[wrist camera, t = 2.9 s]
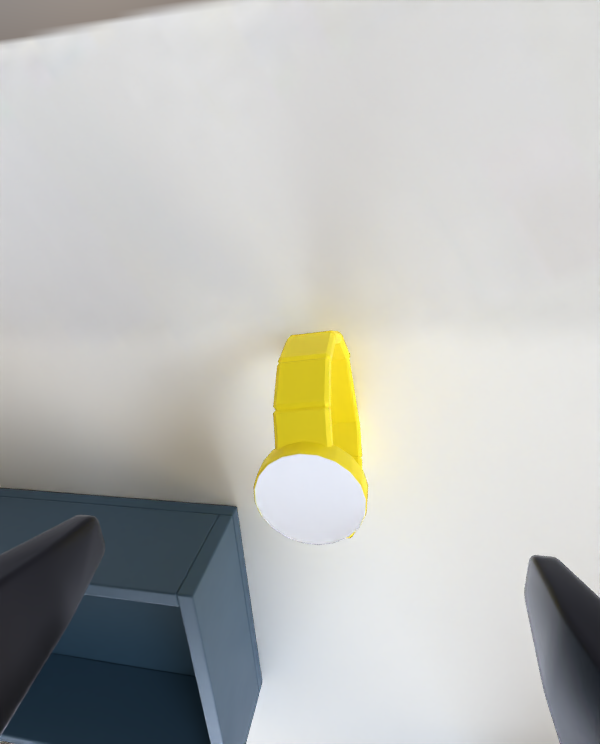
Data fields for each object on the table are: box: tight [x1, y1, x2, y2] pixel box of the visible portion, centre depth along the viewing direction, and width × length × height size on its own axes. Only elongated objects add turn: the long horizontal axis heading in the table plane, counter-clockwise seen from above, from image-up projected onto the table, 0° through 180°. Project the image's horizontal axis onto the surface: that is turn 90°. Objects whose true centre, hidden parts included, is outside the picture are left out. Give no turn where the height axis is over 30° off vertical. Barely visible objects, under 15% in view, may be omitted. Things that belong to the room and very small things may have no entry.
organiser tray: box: [0, 488, 262, 744], centre depth 20 cm, size 15×11×5 cm
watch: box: [254, 331, 368, 545], centre depth 13 cm, size 6×3×6 cm, turn 11°
